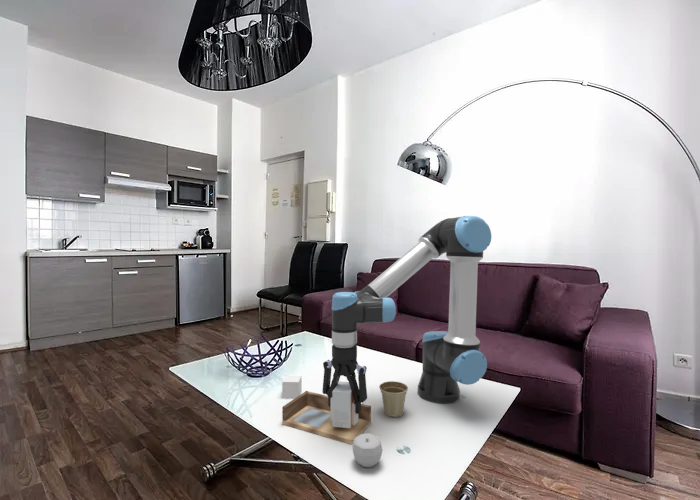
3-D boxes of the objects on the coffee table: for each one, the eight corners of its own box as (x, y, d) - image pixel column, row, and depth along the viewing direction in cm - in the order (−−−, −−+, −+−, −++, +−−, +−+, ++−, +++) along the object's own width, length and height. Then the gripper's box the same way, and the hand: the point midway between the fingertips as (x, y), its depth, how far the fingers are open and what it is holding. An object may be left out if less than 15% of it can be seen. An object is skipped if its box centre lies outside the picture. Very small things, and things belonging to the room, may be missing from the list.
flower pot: (400, 423, 108) (401, 395, 108) (374, 415, 113) (374, 388, 113) (412, 410, 116) (412, 385, 116) (386, 403, 121) (386, 379, 121)
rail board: (370, 423, 108) (370, 405, 108) (352, 444, 96) (352, 425, 96) (306, 406, 119) (306, 390, 118) (282, 424, 107) (282, 406, 107)
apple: (346, 469, 86) (346, 442, 86) (357, 451, 93) (357, 426, 93) (377, 476, 83) (378, 449, 83) (386, 457, 90) (386, 432, 90)
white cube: (285, 391, 131) (285, 375, 131) (301, 391, 131) (301, 375, 131) (282, 398, 125) (282, 381, 125) (298, 398, 125) (298, 382, 125)
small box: (350, 429, 100) (350, 392, 100) (332, 427, 101) (331, 391, 101) (356, 415, 108) (356, 382, 108) (338, 413, 109) (338, 380, 109)
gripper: (379, 345, 103) (379, 422, 103) (323, 337, 112) (322, 408, 112) (369, 352, 96) (369, 434, 97) (310, 343, 105) (310, 418, 106)
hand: (344, 420), depth 105 cm, fingers closed on small box, 7 cm apart
